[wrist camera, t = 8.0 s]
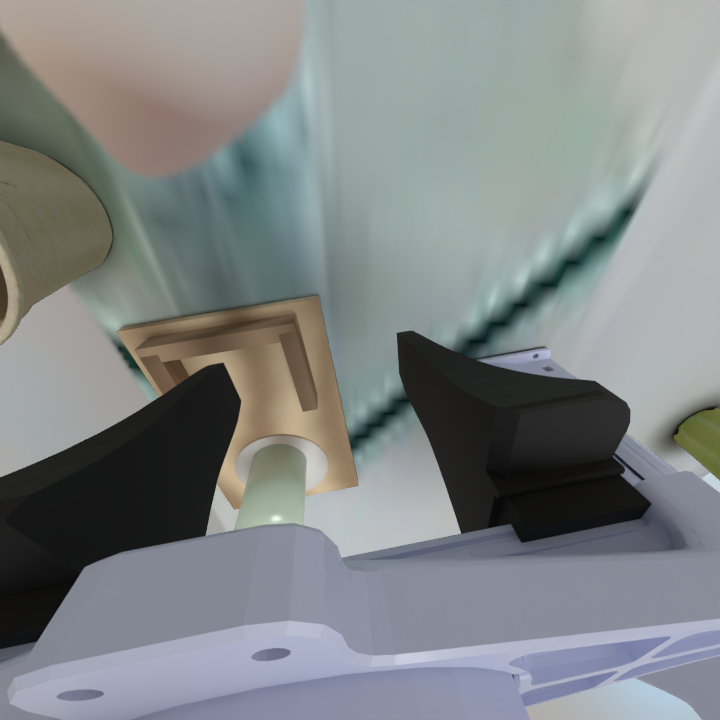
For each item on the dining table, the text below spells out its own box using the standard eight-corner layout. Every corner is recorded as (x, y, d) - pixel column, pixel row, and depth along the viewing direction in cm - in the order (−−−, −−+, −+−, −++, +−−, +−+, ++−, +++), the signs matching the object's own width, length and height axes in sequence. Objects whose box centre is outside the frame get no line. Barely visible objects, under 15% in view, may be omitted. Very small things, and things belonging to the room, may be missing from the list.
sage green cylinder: (300, 439, 26) (294, 505, 20) (316, 489, 30) (315, 555, 24) (244, 449, 25) (223, 518, 20) (269, 498, 29) (257, 567, 24)
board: (318, 295, 20) (318, 307, 18) (357, 479, 31) (360, 501, 29) (123, 327, 19) (97, 343, 17) (236, 502, 31) (229, 526, 29)
